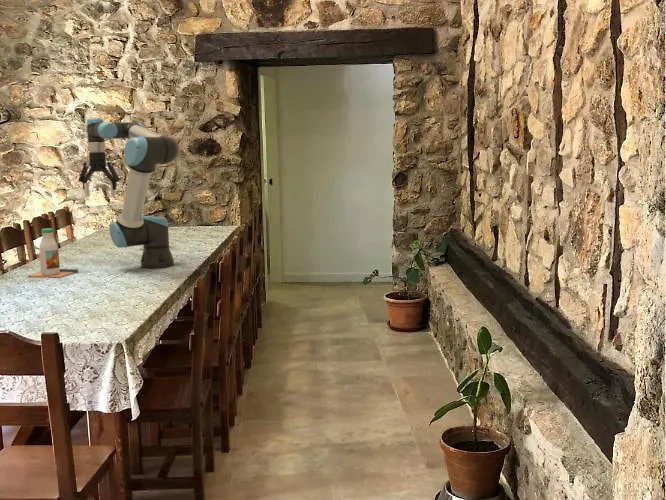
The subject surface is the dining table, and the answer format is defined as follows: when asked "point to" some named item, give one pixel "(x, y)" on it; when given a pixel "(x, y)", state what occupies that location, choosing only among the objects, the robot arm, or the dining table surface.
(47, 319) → the dining table surface
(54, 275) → the tile
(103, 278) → the dining table surface
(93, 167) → the robot arm
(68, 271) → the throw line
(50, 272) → the milk bottle
